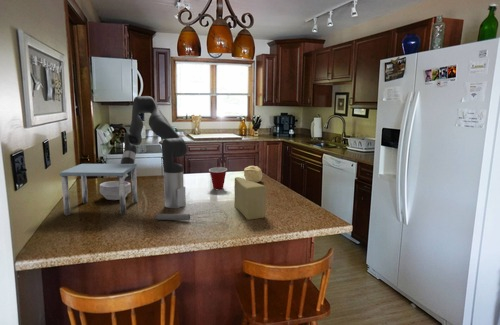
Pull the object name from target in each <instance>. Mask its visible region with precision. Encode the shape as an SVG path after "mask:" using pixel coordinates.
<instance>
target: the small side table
mask: <svg viewBox="0 0 500 325" xmlns="http://www.w3.org/2000/svg"><path fill="white" fill-rule="evenodd" d="M137 166H138V164H137V163H134V164H120V163H81V164H77V165H74V166H73V167H70V168H67V169H65V170H63V171H62V170H61V171H60V172H59V176H60V177H61V178H60V179H61V189H62V199H63V201H62V202H63V213H64V216H70V215H71V204H70V191H69V178H68V177H72V176H73V177H80V183H81V198H82V203H83V204H87V203H88V202H89V198H88V197H89V196H88V184H87V183H88V180H87V177H117V176H118V177H119V179H118V181H119V196H120V200H119V208H120V209H119V212H120V215H121V216H125V215H126V214H127V208H126V206H127V204H126V197H125V182H124V175H125V174H127V173H128V172H130V171H131V179H130V181H131V196H132V200H131V201H132V203H133V204H137V203H138V185H137V184H138V182H137V174H136V173H137ZM118 177H117V178H118Z"/></svg>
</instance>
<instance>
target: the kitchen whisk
mask: <svg viewBox="0 0 500 325" xmlns="http://www.w3.org/2000/svg"><path fill="white" fill-rule="evenodd" d="M206 212H208V213H209V214H212V213H222V214H224V215H225V217H226V218H225V220H223V221H221V223H220V224H219V226H220V225H224V224H225V223H226V222H227V221H228V217H229V216H228V214H227V212H226V211H224V210H222V209H221V211H220V210H219V211H218V210H209V209H208V210H206ZM206 212H205V211H201V214H203V215H204V214H206ZM154 215H155V219H154V218H153V216H154ZM154 215H152V219H153V220H158V221H190V220H191V221H193V222H194V221H195V222H197V223H200V224H202V223H203V224H205V225H206V221H203V220H202V221H200V220H198V219H197V220H196V219H195V218H199V219H202V218H204V219H208V216H198V215H200V211H199V212H195V213H192V214H190V213H154ZM195 215H196V216H195ZM192 217H193V218H192ZM210 223H211V224H212V223H215V224H216V223H219V222H218V221H215V222H214V221H213V222H212V221H210Z"/></svg>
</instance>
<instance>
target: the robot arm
mask: <svg viewBox="0 0 500 325" xmlns="http://www.w3.org/2000/svg"><path fill="white" fill-rule="evenodd" d="M139 114H150V116H149V118H148V126H149V128H150V129H151V131H152V132H153V133H154V134H155V136H158V137H159V138H161V139H163V140H162V142H161V154H162V155H161V156H162V168H163V184H164V185H163V188H164V189H163V190H164V207H165V208H167V209H180V208H182V207H185V206H186V204H187V203H186V186H184V165H182V164H180V163H176V162H175V161H174V159H173V158H181V157H185V155H187V152H188V146H187V144H186V141H185V140H184V138H182V136H181V135H180V134H179V133H178V132H177V131H176V130H175V129H174V128H173V126H172V125H171V123H170V122H169V121H168V119H167V118H166V116H164V114H163V113H162V111H161V109H160V108H159V106H158V104H157V103H156V101H155V99H154V98H153V97H152V96H149V95H142V96H141V95H140V96H139V95H138V96H135V97H134V98H133V100H132V111H131V122H130V126H129V130H128V131H127V132H125V133H124V136H123V143H124V149H123V153H122V155H121V160H120V163H119V164H136V163H135V162H136V155H137V149H138V148H137V146H139V145H141V143H143V142H142V140H143V137H142V132H143V130H144V129H143V128H144V122H143V119H142V118H141V116H140V115H139ZM137 174H138V173H137V172H136V175H137ZM116 178H118V179H117V180H119V177H118V176H116ZM124 181H126V182H128V181H131V171H130V172H128V173H127V174H125V175H124Z"/></svg>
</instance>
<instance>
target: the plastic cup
mask: <svg viewBox="0 0 500 325" xmlns="http://www.w3.org/2000/svg"><path fill="white" fill-rule="evenodd" d="M227 171H228V168H227V167H220V166H218V167H212V168H209V169H208V172H209V174H210V178H211V179H210V180H211V183H212V188H213V189H214V190H216V189H221V190H223V189H224V184H225V181H226V174H227Z"/></svg>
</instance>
